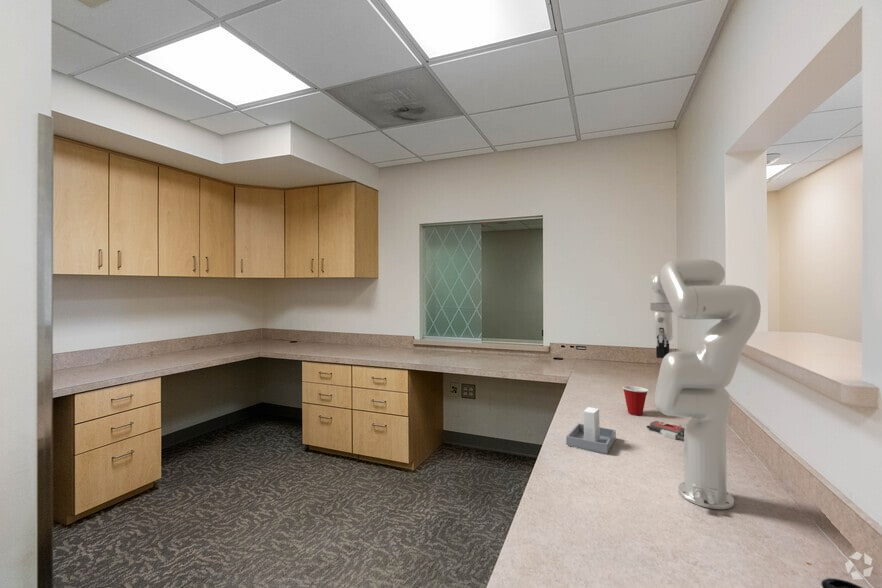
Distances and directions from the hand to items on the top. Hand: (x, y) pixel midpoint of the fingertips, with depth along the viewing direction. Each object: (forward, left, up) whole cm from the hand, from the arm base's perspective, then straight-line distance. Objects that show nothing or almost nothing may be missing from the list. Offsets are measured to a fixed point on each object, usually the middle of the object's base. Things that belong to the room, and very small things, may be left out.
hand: (663, 355), depth 135 cm
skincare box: (-8, +23, -33) cm, 41 cm away
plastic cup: (+36, +14, -34) cm, 51 cm away
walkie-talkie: (+16, -2, -34) cm, 37 cm away
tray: (-8, +23, -33) cm, 41 cm away
